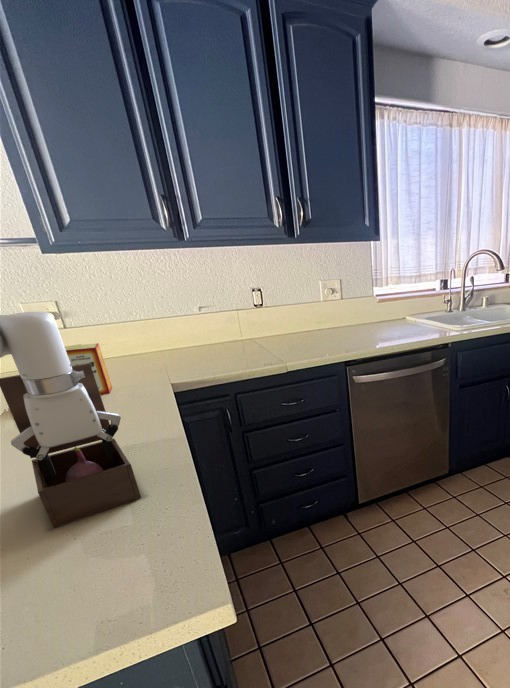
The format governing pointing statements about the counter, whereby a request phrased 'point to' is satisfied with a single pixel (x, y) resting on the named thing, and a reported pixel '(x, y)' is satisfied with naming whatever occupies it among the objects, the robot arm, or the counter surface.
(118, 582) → the counter surface
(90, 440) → the lid
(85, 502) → the chest
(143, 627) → the counter surface
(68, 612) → the counter surface
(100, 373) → the baking soda box
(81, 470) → the vegetable
